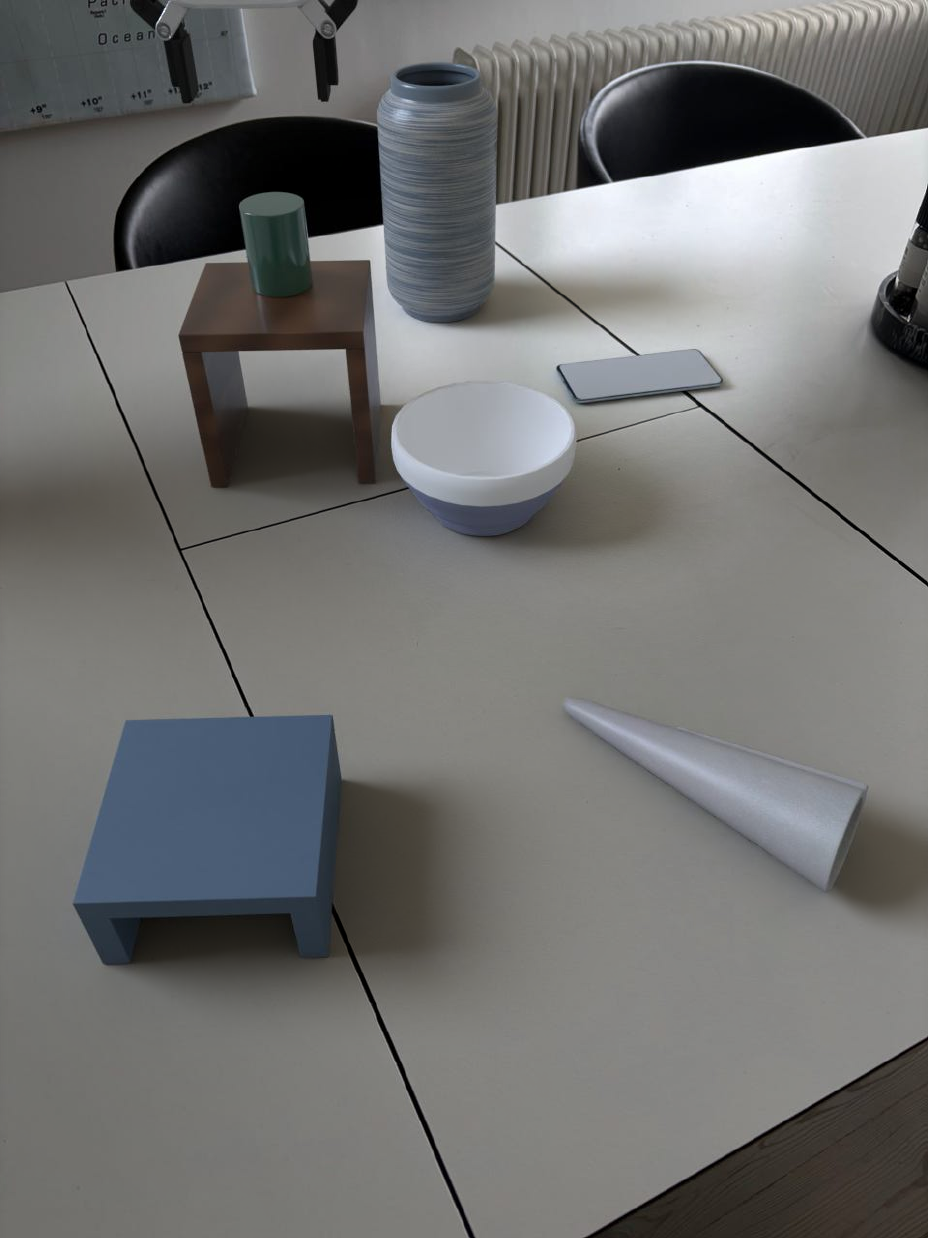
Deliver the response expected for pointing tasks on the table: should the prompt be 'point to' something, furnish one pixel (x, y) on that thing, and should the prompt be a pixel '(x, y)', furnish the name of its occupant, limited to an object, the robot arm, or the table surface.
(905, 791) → the table surface
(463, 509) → the bowl
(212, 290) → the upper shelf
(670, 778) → the long tapered cone
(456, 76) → the vase
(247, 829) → the lower shelf
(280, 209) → the jar
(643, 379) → the smartphone
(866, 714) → the table surface
